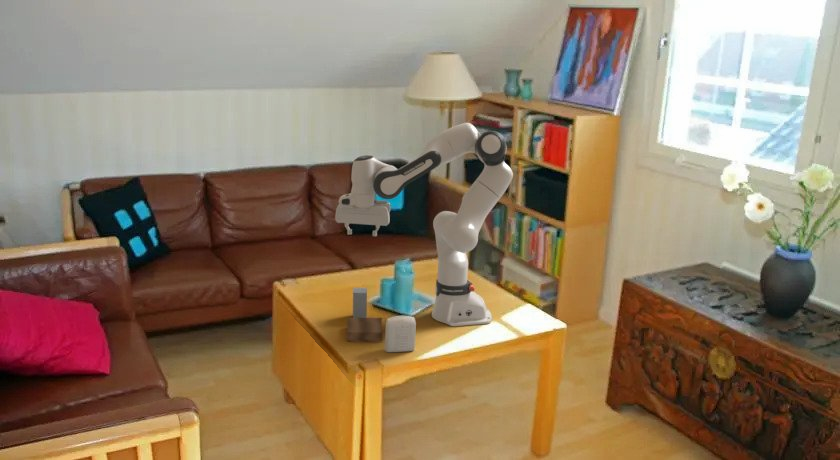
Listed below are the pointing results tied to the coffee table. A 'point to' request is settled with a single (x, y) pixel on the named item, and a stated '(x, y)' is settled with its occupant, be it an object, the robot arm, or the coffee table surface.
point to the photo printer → (400, 334)
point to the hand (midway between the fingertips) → (362, 235)
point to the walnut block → (364, 330)
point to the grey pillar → (359, 302)
